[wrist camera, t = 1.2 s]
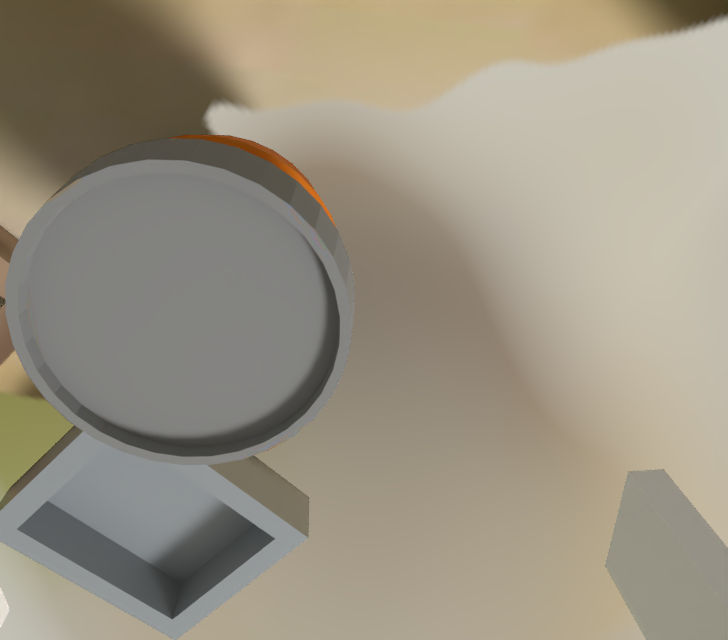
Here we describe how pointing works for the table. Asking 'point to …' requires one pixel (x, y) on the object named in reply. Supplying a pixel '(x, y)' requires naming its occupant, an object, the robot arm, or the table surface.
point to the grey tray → (152, 527)
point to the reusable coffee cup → (184, 300)
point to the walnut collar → (3, 246)
